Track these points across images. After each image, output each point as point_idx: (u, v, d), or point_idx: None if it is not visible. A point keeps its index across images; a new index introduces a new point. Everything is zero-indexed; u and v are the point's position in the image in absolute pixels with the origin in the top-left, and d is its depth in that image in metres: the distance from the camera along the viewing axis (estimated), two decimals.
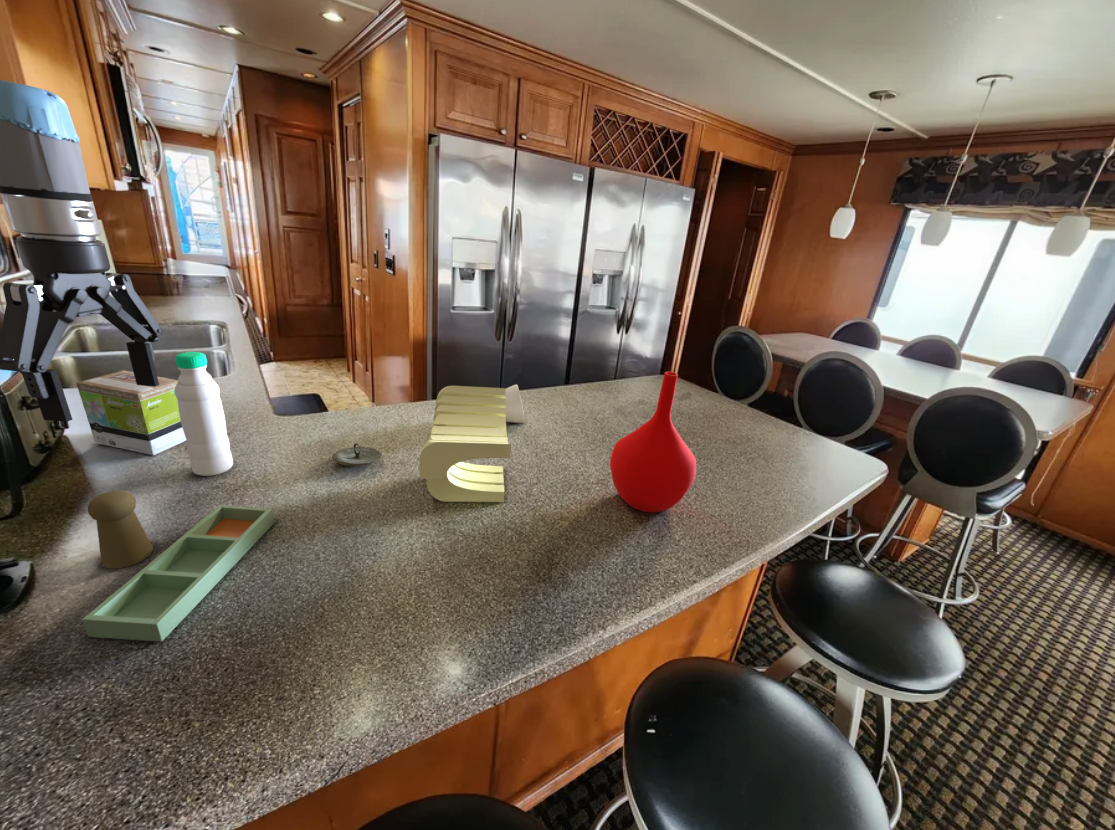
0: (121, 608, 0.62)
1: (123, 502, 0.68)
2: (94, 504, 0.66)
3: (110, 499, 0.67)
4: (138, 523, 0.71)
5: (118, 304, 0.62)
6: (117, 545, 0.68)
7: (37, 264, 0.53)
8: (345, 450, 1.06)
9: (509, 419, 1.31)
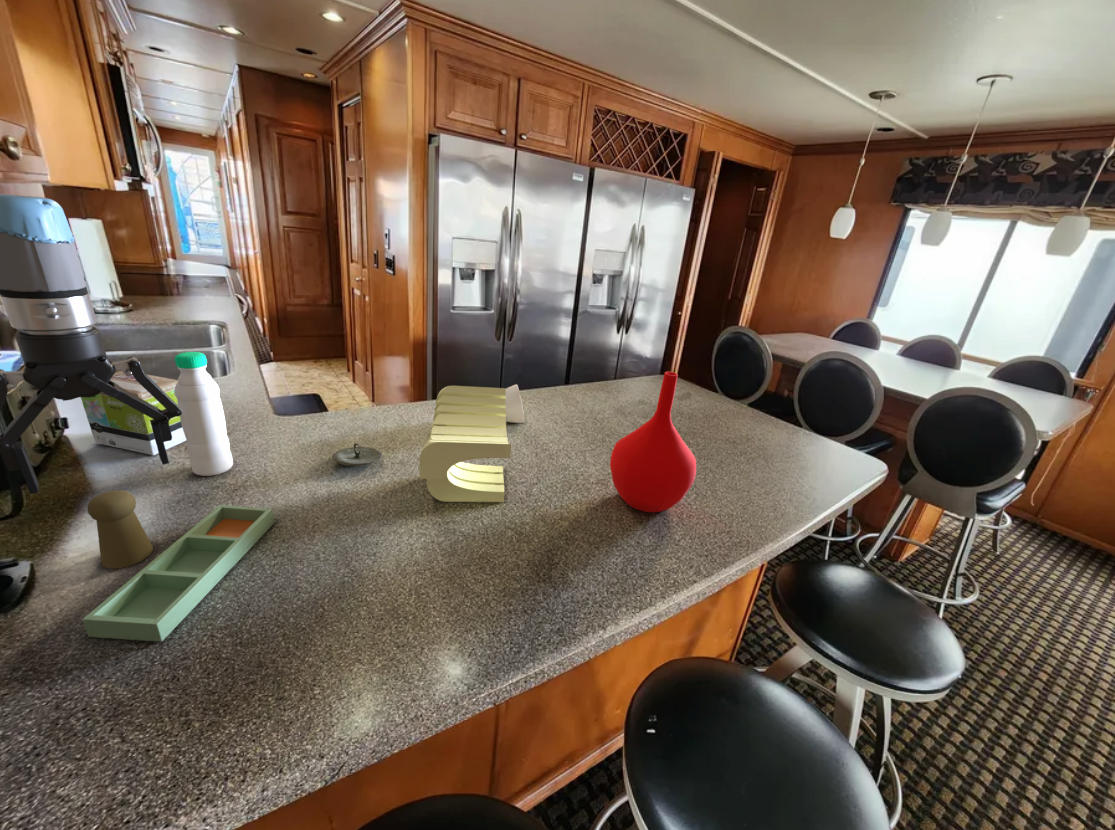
0: (121, 608, 0.62)
1: (123, 502, 0.68)
2: (94, 504, 0.66)
3: (109, 499, 0.67)
4: (138, 523, 0.71)
5: (113, 390, 0.63)
6: (117, 545, 0.68)
7: (21, 354, 0.57)
8: (345, 450, 1.06)
9: (509, 419, 1.31)
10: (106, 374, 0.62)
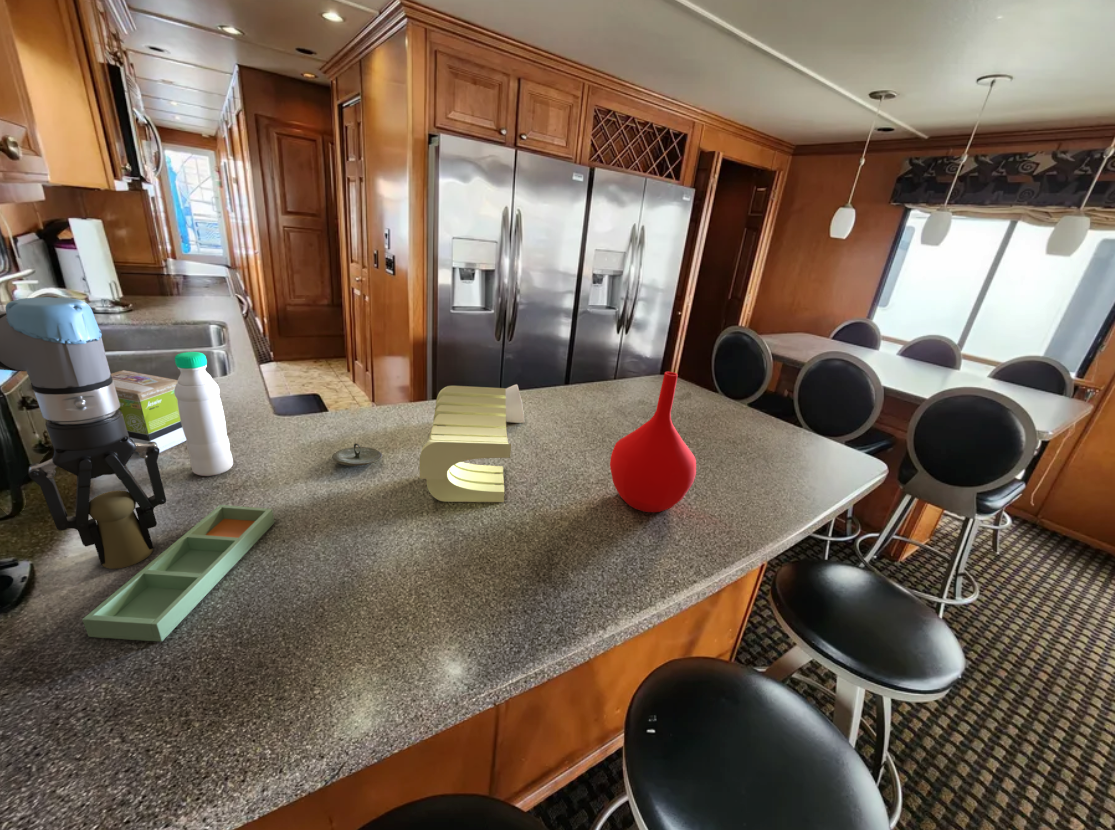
0: (121, 608, 0.62)
1: (123, 502, 0.68)
2: (94, 505, 0.66)
3: (109, 499, 0.67)
4: (138, 523, 0.71)
5: (125, 473, 0.67)
6: (117, 545, 0.68)
7: (51, 440, 0.61)
8: (345, 450, 1.06)
9: (509, 419, 1.31)
10: (128, 452, 0.67)
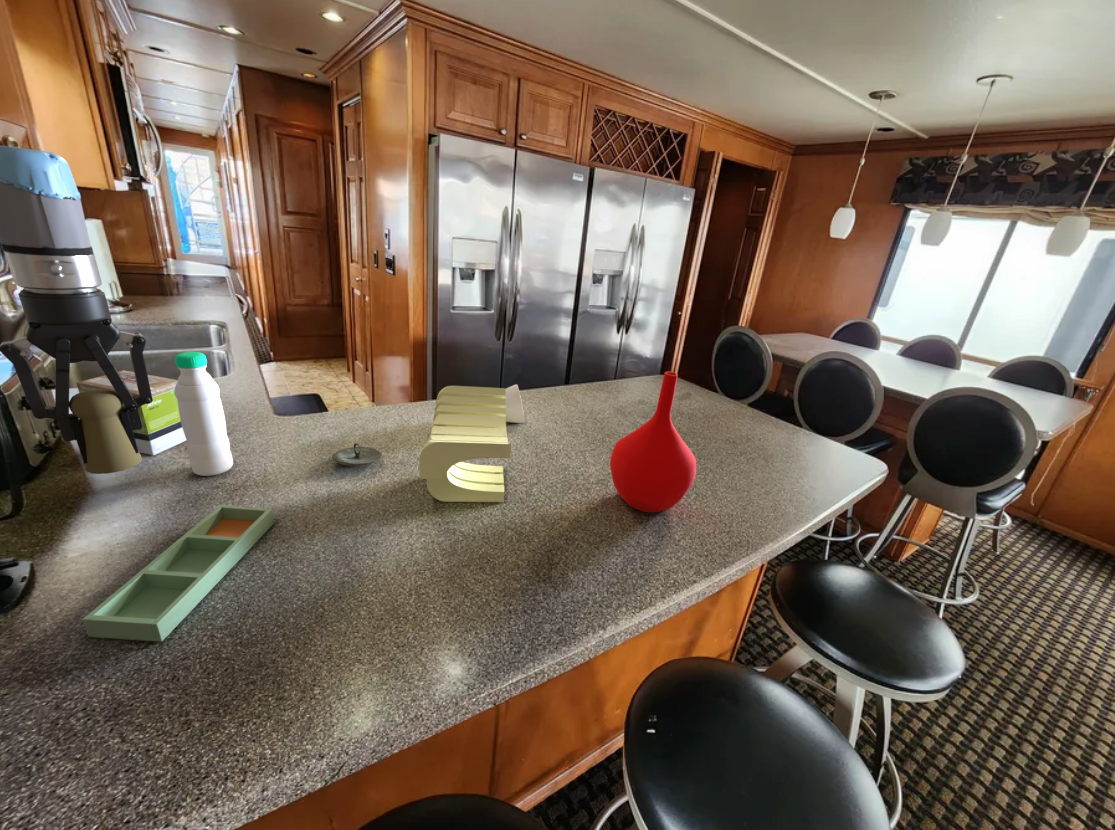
0: (121, 608, 0.62)
1: (108, 399, 0.62)
2: (76, 399, 0.60)
3: (93, 395, 0.61)
4: None
5: (107, 361, 0.61)
6: (102, 448, 0.63)
7: None
8: (345, 450, 1.06)
9: (509, 419, 1.31)
10: (111, 338, 0.61)
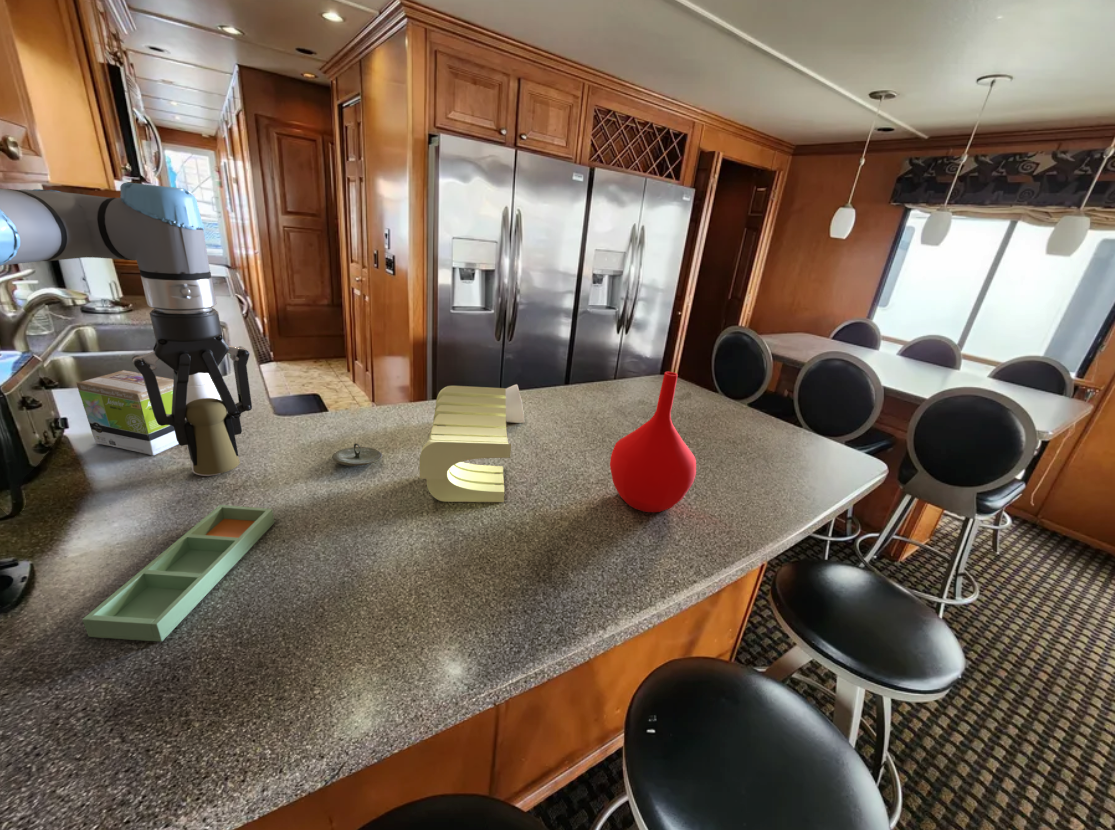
0: (121, 608, 0.62)
1: (217, 407, 0.68)
2: (192, 407, 0.67)
3: (205, 403, 0.68)
4: None
5: (218, 373, 0.67)
6: (211, 451, 0.69)
7: (154, 331, 0.62)
8: (345, 450, 1.06)
9: (509, 419, 1.31)
10: (221, 352, 0.67)
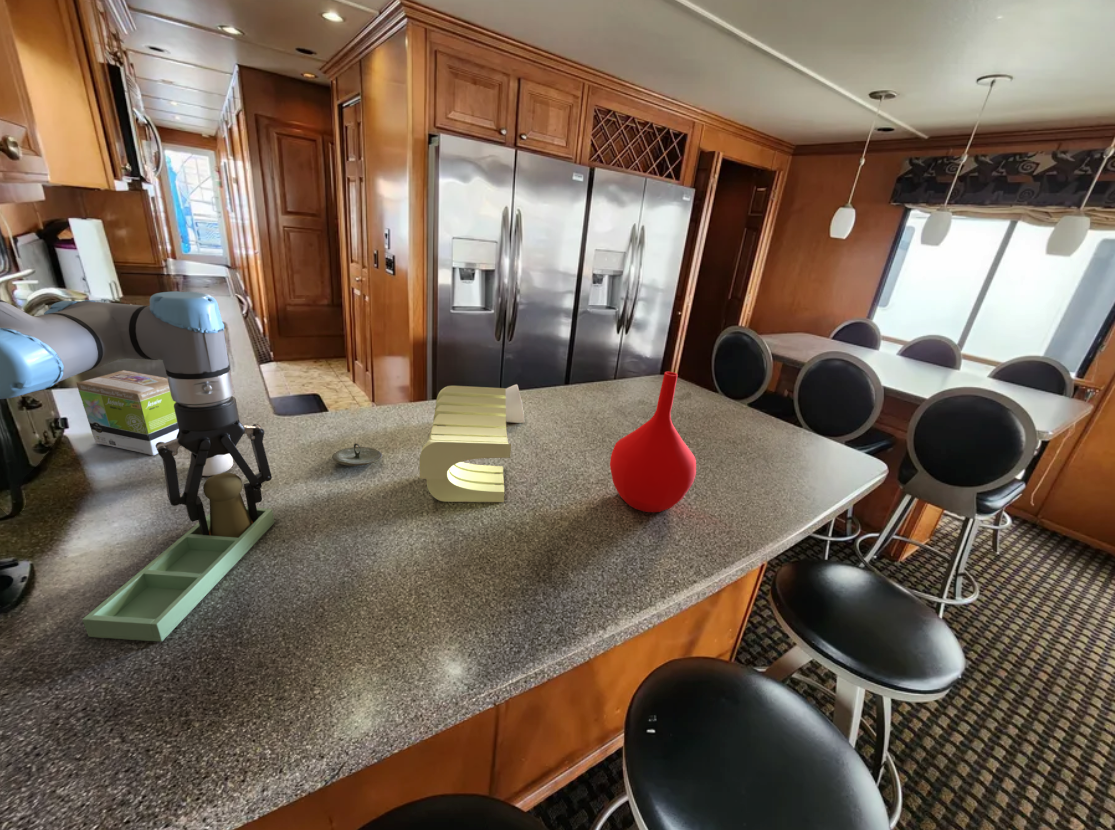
0: (121, 608, 0.62)
1: (234, 483, 0.74)
2: (210, 485, 0.72)
3: (223, 481, 0.73)
4: (243, 503, 0.77)
5: (237, 452, 0.73)
6: (228, 523, 0.74)
7: (177, 422, 0.67)
8: (345, 450, 1.06)
9: (509, 419, 1.31)
10: (238, 434, 0.73)
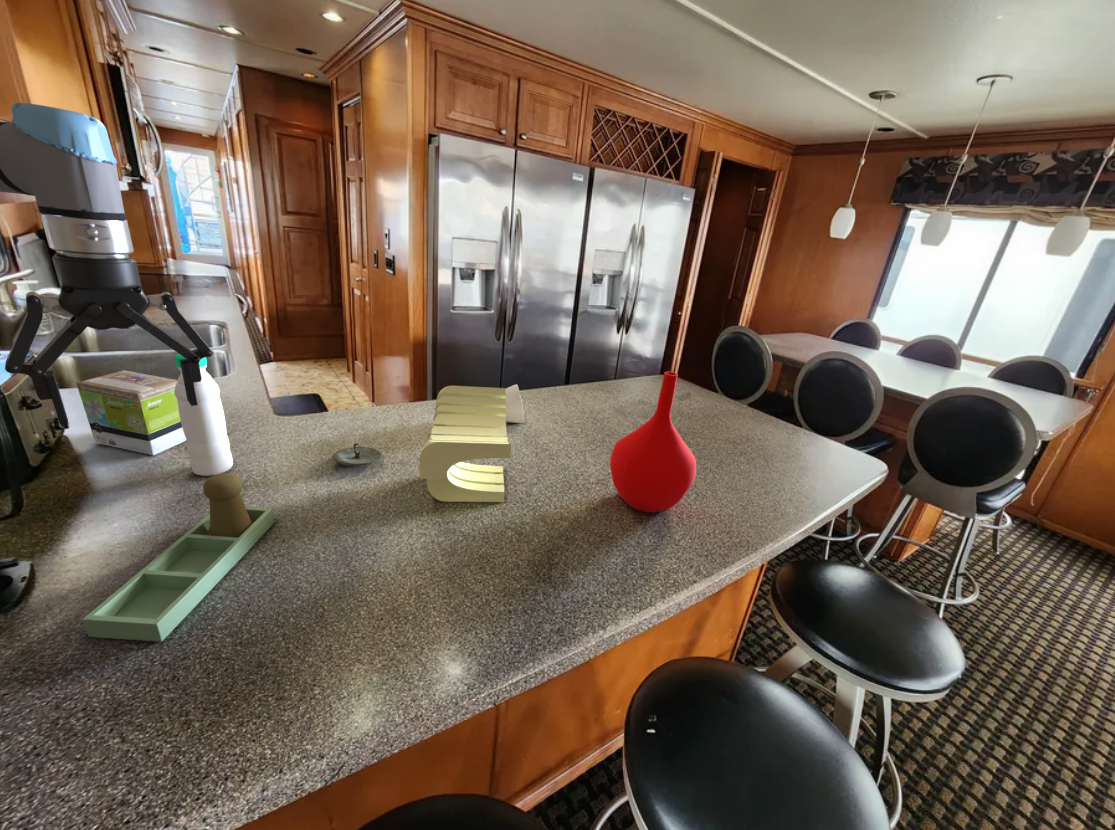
0: (121, 608, 0.62)
1: (234, 483, 0.74)
2: (210, 485, 0.72)
3: (223, 480, 0.73)
4: (243, 503, 0.77)
5: (147, 323, 0.61)
6: (228, 523, 0.74)
7: None
8: (345, 450, 1.06)
9: (509, 419, 1.31)
10: (141, 306, 0.61)
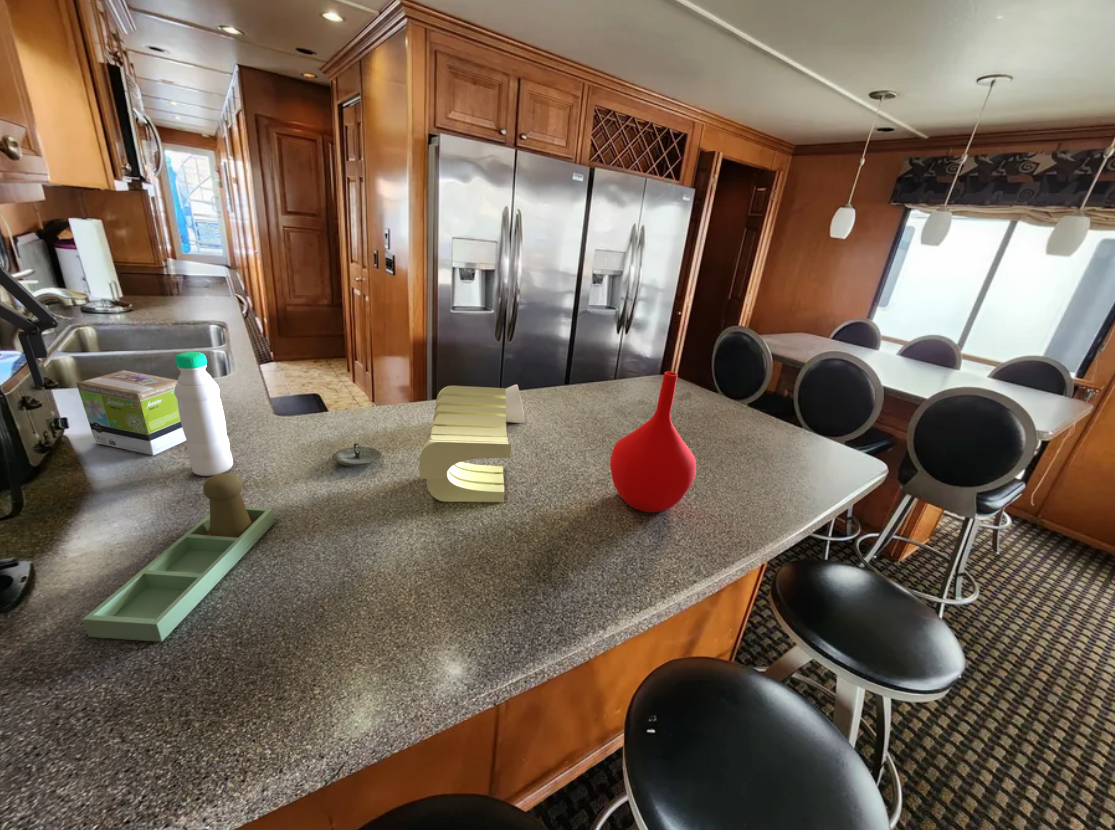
0: (121, 608, 0.62)
1: (234, 483, 0.74)
2: (210, 485, 0.72)
3: (223, 480, 0.73)
4: (243, 503, 0.77)
5: None
6: (228, 523, 0.74)
7: None
8: (345, 450, 1.06)
9: (509, 419, 1.31)
10: None
